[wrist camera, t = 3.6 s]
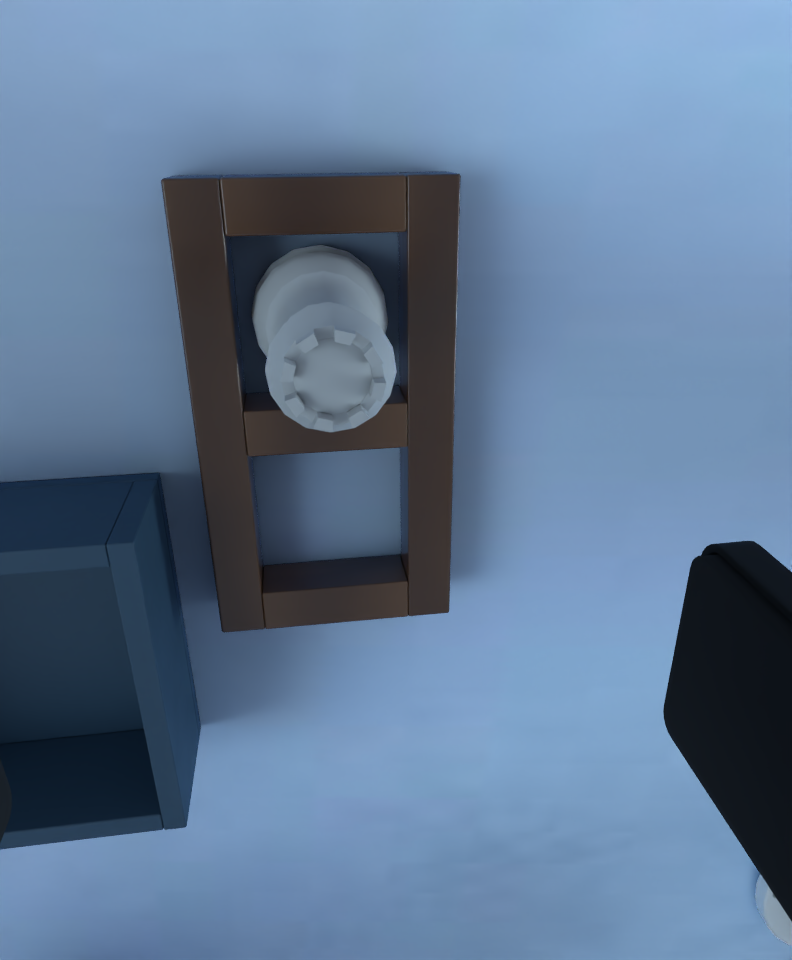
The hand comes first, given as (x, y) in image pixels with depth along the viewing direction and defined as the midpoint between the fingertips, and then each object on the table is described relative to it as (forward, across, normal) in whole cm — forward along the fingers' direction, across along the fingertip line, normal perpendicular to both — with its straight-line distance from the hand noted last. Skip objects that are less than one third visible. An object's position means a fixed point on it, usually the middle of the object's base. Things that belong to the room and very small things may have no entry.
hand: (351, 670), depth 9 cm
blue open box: (+17, +12, +10) cm, 23 cm away
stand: (+17, 0, +3) cm, 17 cm away
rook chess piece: (+17, -1, -1) cm, 17 cm away
